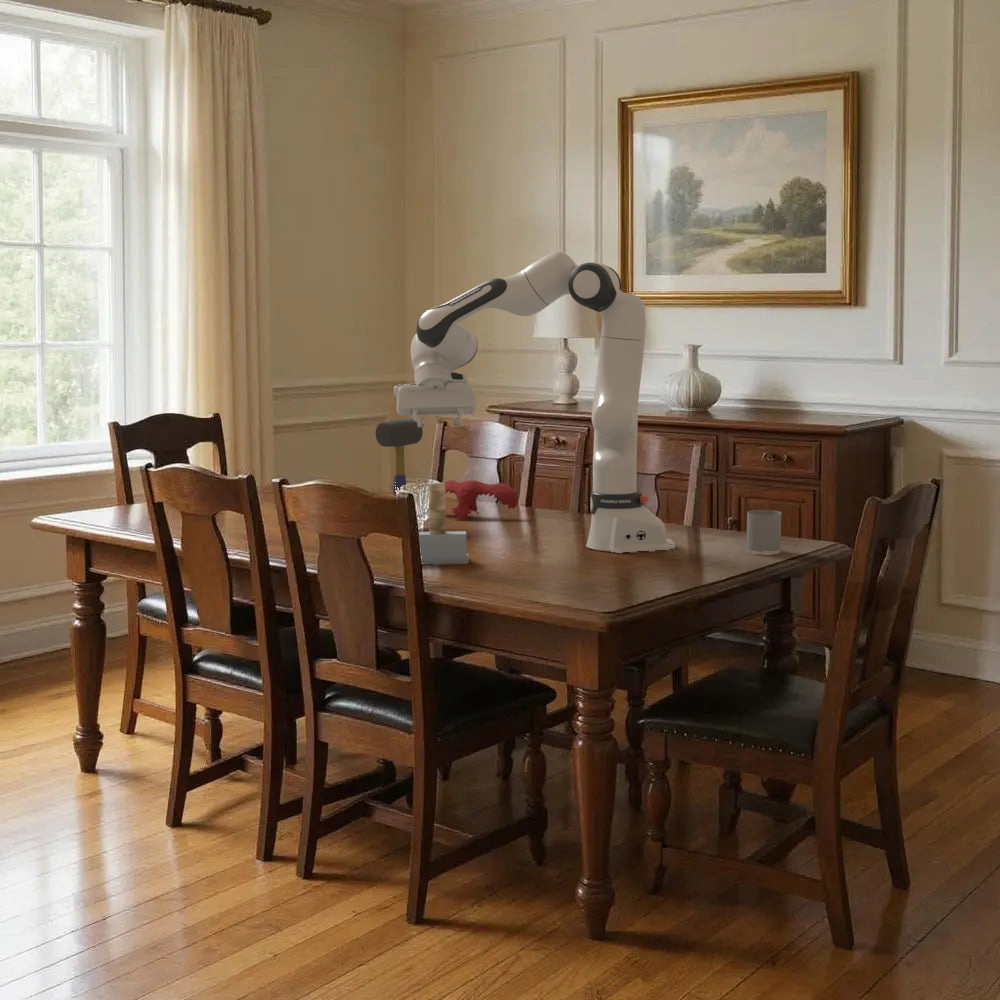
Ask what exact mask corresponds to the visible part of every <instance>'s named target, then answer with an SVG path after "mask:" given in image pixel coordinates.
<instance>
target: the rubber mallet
mask: <svg viewBox="0 0 1000 1000" xmlns="http://www.w3.org/2000/svg"><path fill="white" fill-rule="evenodd" d="M375 438H376V441H377V443H378V444H379V445H380V446H382V447H385V448H387V447H389V448H391V447H392V448H393V447H394V452H395V453H394V461H395V462H394V463H395V466H394V467H395V468H394V470H395V471H394V472H395V473H394V478H393V487H392V488H393V495H394V494H396V492H395V490H397V487H398V488H399V490H400V487H401V486H402V485H406V484H407V477H406V474H405V473H406V471H405V469H406V468H405V446H409V445H414V444H417V443H419V442H420V441H421V440H422V438H423V427H418V425H417V422H416V421H415V420H414V419H413V418H399V419H397V418H396V419H392V420H386V421H381V422H379V423H378V425H377V426H376V429H375ZM395 482H396V483H395ZM395 485H396V486H395ZM395 487H396V489H395Z"/></svg>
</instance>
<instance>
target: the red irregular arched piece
mask: <svg viewBox="0 0 1000 1000" xmlns="http://www.w3.org/2000/svg"><path fill="white" fill-rule="evenodd" d="M443 483H445V495H446V494H448V493H449V494H455V496H456V500H457V505H456V506H455V507H454V508H451V513H452V514H453V516H455V519H456V520H458V519H461V520H462V519H463V520H467V519H466V517H468V516H469V515H471V514H472V512H476V514H477V515H476V516H479V514H480V513H481V512H480V511H478V505H477V498H479V496H483V495H484V496H487V495H488V497H492V496H494V499H497V498H498V502H500V503H502V502H503V504H504V505H508V506H507V507H508V509H516V506H517V505H518V494H517V493H518V492H517V491H516V490H515V489H514V488H513V487H512V486H510V485H509V484H506V483H503V482H499V483H498V482H497V483H492V484H491V483H489V484H488V483H485V482H482V481H478V480H471V479H470V480H465V481H461V482H458V481H456V480H448V481H444V482H443Z"/></svg>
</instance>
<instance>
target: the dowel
mask: <svg viewBox="0 0 1000 1000" xmlns="http://www.w3.org/2000/svg"><path fill="white" fill-rule="evenodd" d="M428 499H429V503H428V529H429V530H428V532H429V534H445V533H446V532H447V529H446V527H447V525H446V524H447V523H446V521H447V520H446V494H445V483H444V482H428Z"/></svg>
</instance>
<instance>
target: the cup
mask: <svg viewBox="0 0 1000 1000" xmlns="http://www.w3.org/2000/svg"><path fill="white" fill-rule="evenodd" d="M746 516H747V517H746V551H747V550H749V551H756V552H757V551H758V552H762V551H763V552H764V551H777V550H779V549H780V550H781V544H782V543H781V541H782V537H781V536H782V511H780V510H779V511H778V510H772V509H771V510H769V509H754V510H753V509H752V510H748V511H747V514H746Z"/></svg>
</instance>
